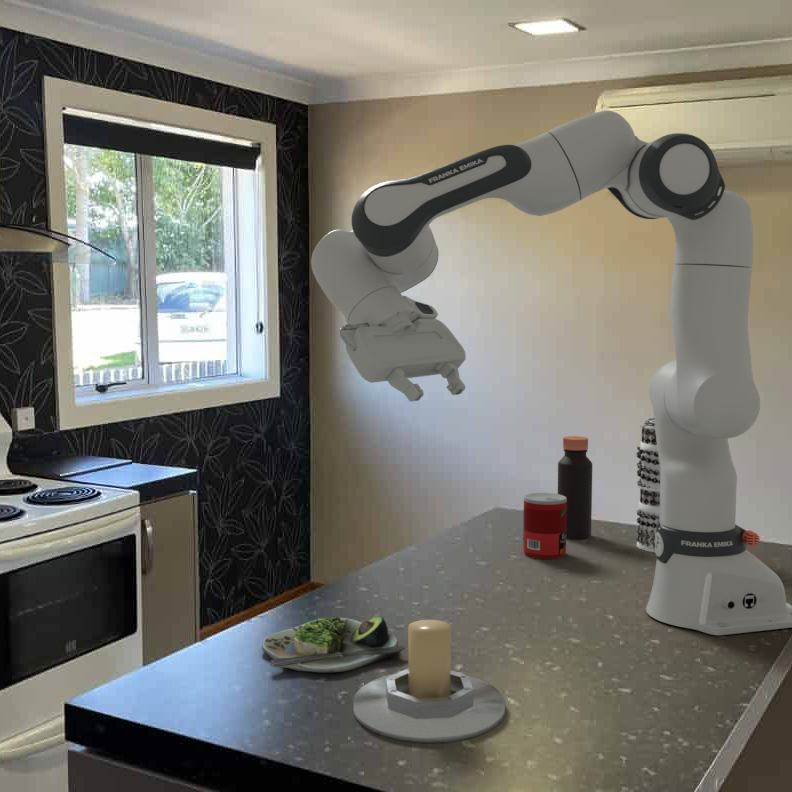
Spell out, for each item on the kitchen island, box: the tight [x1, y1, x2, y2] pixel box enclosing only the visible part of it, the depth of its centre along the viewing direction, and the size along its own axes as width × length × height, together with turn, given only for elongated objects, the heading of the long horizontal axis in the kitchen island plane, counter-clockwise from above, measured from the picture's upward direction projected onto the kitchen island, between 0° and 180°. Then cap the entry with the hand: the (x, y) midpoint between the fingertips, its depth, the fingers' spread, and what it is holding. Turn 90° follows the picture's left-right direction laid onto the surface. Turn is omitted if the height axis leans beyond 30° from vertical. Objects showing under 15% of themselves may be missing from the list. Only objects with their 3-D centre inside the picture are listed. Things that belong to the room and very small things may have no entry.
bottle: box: [557, 435, 593, 540], centre depth 197 cm, size 7×7×20 cm
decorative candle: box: [635, 417, 660, 553], centre depth 187 cm, size 9×9×25 cm
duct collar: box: [353, 667, 506, 744], centre depth 116 cm, size 18×18×3 cm
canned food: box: [522, 492, 567, 560], centre depth 184 cm, size 8×8×11 cm
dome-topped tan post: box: [407, 619, 452, 698], centre depth 116 cm, size 5×5×9 cm
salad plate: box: [261, 615, 407, 673], centre depth 134 cm, size 19×18×5 cm
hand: (439, 395), depth 135 cm, fingers open, 8 cm apart
